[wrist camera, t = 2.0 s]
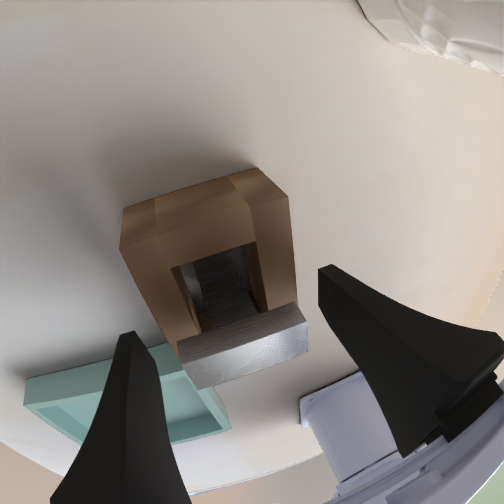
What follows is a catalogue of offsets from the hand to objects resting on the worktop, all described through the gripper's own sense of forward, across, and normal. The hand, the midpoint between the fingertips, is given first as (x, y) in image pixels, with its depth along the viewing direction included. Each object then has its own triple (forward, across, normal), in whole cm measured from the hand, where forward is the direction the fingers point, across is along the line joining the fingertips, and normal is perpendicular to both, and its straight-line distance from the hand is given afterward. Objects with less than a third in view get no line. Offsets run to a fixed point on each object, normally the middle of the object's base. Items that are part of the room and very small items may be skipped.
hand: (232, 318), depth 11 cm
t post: (+4, 0, 0) cm, 4 cm away
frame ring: (+4, 0, 0) cm, 4 cm away
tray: (+3, +8, +9) cm, 13 cm away
